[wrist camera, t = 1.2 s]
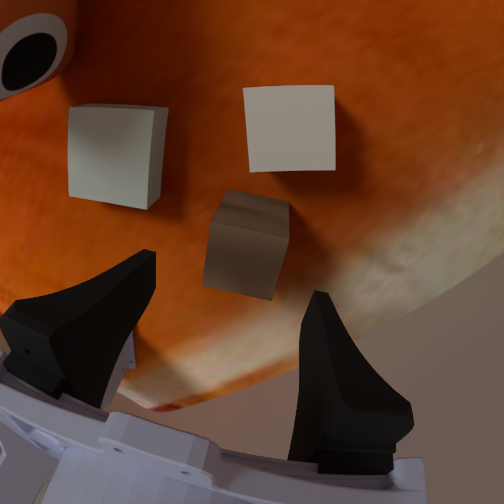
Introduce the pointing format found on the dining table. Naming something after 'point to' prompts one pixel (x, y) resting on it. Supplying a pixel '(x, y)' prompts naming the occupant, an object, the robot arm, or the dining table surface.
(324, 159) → the cream block
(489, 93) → the dining table surface
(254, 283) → the walnut block
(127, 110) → the sage slab
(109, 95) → the dining table surface
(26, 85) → the toy
